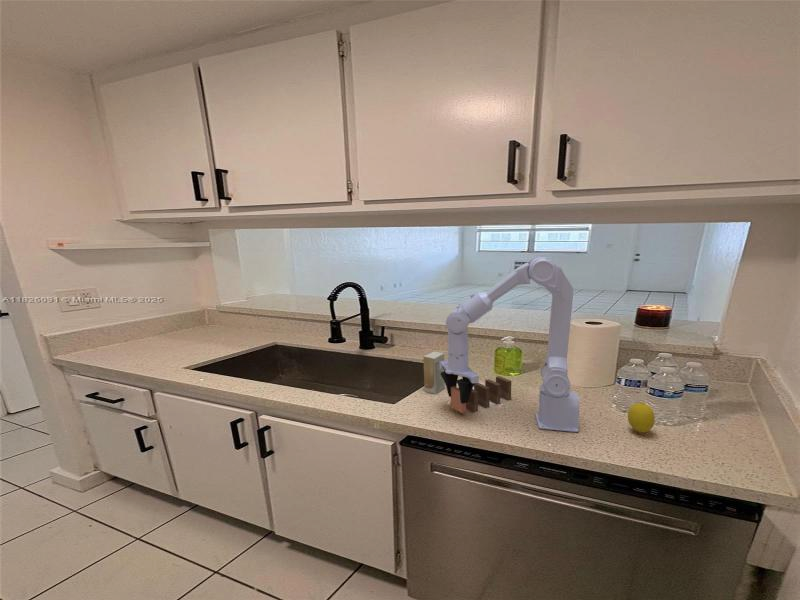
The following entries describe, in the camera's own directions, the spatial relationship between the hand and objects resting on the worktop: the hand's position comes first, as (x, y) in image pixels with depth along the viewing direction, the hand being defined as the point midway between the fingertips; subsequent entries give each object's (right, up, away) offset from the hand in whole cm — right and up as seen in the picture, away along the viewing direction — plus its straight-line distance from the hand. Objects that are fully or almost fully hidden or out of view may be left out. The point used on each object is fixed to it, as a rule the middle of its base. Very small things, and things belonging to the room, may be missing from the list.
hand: (458, 399), depth 103 cm
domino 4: (+12, -3, +8) cm, 14 cm away
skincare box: (-5, -2, +17) cm, 18 cm away
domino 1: (0, -3, 0) cm, 3 cm away
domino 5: (+16, -2, +10) cm, 18 cm away
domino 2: (+4, -4, +3) cm, 6 cm away
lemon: (+43, -5, -13) cm, 45 cm away
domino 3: (+8, -3, +5) cm, 10 cm away
